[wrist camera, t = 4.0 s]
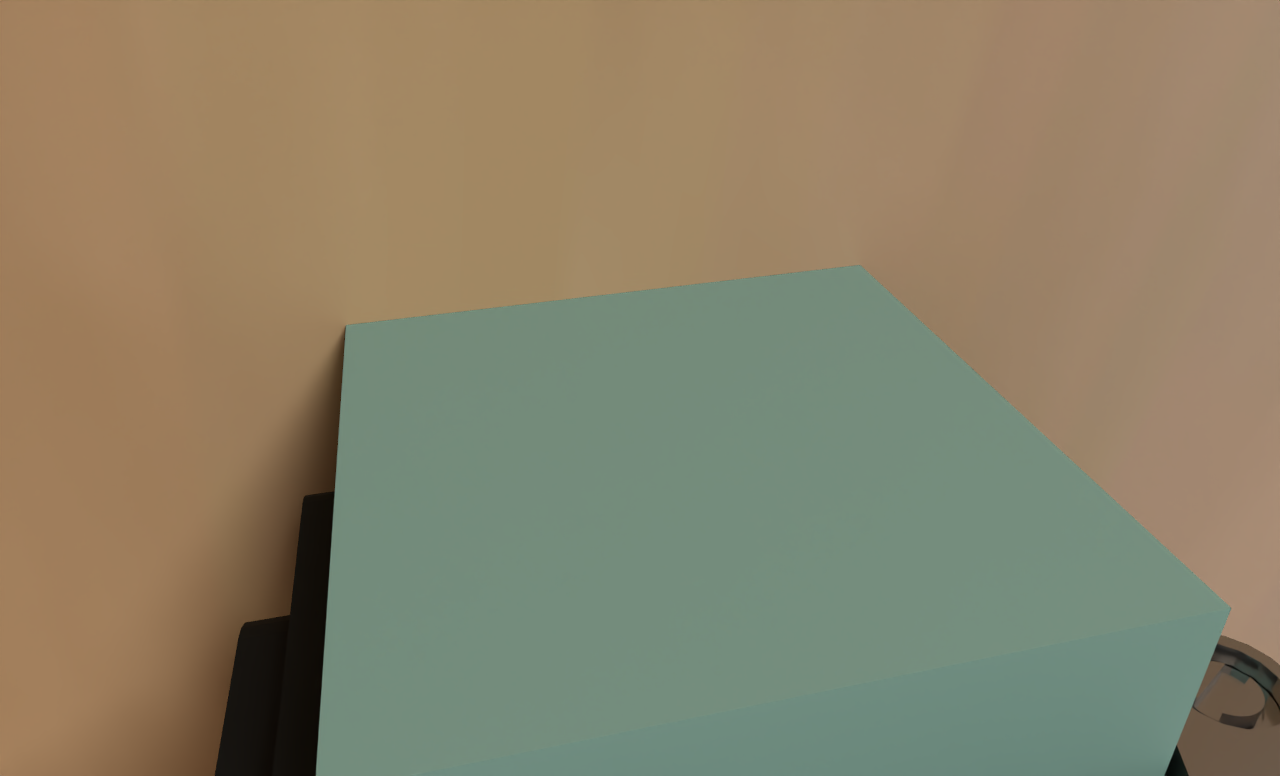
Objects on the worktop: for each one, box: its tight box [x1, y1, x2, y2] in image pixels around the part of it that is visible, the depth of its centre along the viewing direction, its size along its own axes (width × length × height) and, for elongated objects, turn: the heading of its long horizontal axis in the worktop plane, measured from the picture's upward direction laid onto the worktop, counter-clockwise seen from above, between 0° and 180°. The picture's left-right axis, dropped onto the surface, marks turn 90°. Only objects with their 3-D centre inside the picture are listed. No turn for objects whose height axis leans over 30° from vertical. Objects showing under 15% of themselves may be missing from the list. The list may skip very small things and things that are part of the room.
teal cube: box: [316, 265, 1231, 776], centre depth 10 cm, size 6×6×6 cm
